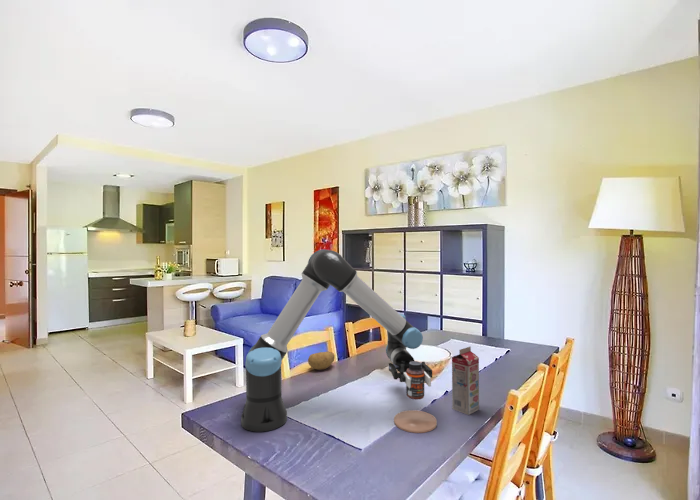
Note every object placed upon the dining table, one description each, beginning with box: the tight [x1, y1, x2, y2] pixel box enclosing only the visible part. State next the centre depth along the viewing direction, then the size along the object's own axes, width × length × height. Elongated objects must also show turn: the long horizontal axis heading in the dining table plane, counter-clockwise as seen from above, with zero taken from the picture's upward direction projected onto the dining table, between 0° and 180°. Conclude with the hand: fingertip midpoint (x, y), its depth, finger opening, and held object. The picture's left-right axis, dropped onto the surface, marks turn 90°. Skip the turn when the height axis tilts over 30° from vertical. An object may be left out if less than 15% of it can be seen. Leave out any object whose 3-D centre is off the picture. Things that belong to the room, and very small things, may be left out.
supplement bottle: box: [405, 360, 425, 400], centre depth 126 cm, size 6×6×11 cm
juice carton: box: [451, 346, 480, 416], centre depth 135 cm, size 7×7×22 cm
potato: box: [307, 351, 336, 371], centre depth 181 cm, size 10×14×8 cm
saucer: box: [393, 409, 438, 434], centre depth 126 cm, size 14×14×1 cm
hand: (419, 382), depth 121 cm, fingers closed on supplement bottle, 6 cm apart
